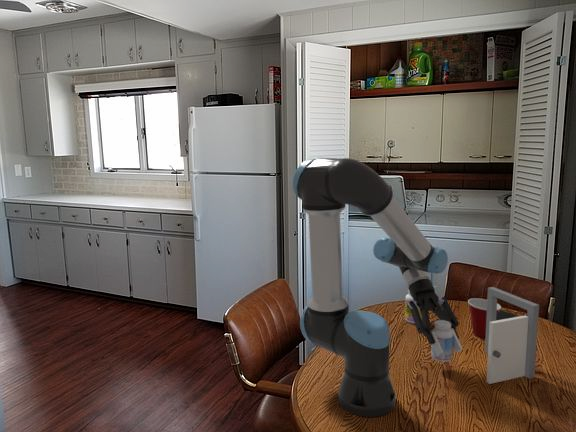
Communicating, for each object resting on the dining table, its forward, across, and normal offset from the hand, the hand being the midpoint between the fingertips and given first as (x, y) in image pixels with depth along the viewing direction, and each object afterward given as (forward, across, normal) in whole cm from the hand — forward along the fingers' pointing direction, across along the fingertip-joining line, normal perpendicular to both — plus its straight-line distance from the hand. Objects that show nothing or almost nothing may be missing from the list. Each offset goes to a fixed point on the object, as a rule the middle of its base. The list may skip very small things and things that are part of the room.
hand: (449, 352), depth 131 cm
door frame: (+6, -21, -4) cm, 22 cm away
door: (+11, -13, +2) cm, 17 cm away
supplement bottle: (-22, -14, -32) cm, 41 cm away
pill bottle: (0, 0, -5) cm, 5 cm away
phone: (-15, -45, -25) cm, 54 cm away
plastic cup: (-8, -29, -18) cm, 35 cm away
